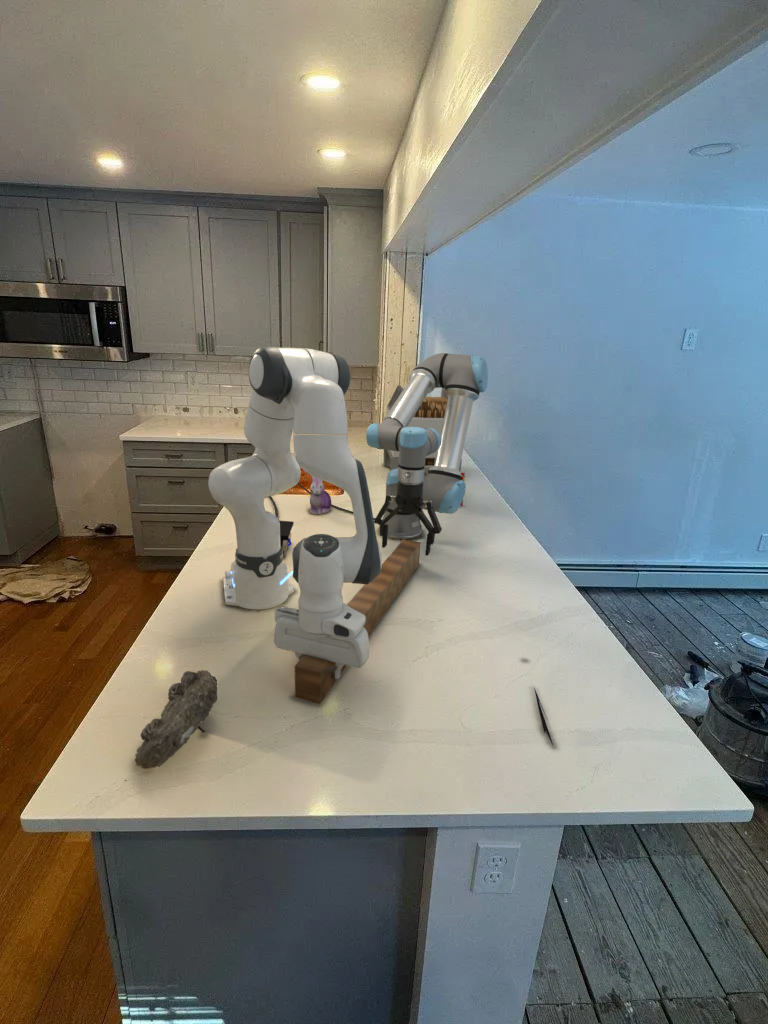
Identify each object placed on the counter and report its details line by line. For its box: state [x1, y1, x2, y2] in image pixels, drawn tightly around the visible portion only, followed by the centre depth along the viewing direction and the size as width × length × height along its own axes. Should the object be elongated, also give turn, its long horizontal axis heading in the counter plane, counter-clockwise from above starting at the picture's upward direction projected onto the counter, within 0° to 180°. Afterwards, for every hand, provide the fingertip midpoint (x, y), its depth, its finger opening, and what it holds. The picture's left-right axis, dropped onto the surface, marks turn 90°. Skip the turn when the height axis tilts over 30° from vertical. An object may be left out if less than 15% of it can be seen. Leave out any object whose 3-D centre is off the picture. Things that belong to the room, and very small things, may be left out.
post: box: [294, 539, 422, 705], centre depth 144 cm, size 72×6×8 cm, turn 161°
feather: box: [524, 658, 554, 746], centre depth 117 cm, size 2×28×2 cm
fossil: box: [134, 669, 218, 770], centre depth 103 cm, size 22×10×15 cm
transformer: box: [383, 384, 463, 473], centre depth 268 cm, size 34×33×41 cm
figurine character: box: [279, 520, 295, 556], centre depth 182 cm, size 7×8×15 cm
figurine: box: [309, 476, 332, 515], centre depth 216 cm, size 9×10×15 cm
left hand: (320, 673), depth 118 cm, fingers closed on post, 5 cm apart
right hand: (405, 550), depth 170 cm, fingers open, 13 cm apart
